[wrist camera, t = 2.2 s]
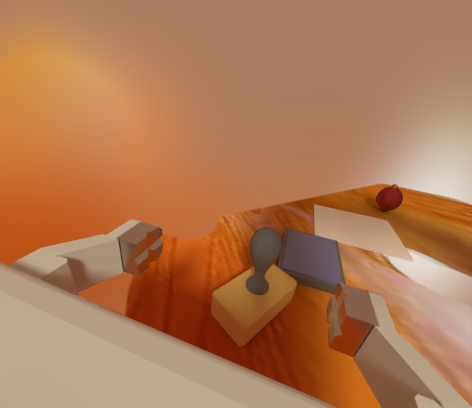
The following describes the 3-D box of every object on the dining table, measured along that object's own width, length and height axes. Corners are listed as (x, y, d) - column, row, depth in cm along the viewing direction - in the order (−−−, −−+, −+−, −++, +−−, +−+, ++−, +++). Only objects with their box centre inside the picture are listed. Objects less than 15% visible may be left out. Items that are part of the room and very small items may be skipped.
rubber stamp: (261, 275, 33) (275, 207, 28) (292, 301, 29) (316, 228, 24) (209, 312, 27) (215, 232, 21) (241, 350, 23) (258, 265, 18)
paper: (387, 221, 54) (387, 220, 54) (413, 261, 40) (413, 260, 40) (313, 205, 58) (314, 204, 58) (314, 236, 44) (314, 235, 44)
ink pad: (335, 245, 42) (337, 239, 41) (343, 297, 31) (347, 289, 30) (284, 232, 44) (286, 226, 44) (275, 275, 33) (277, 268, 32)
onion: (374, 204, 64) (386, 178, 60) (397, 211, 60) (410, 185, 57) (369, 209, 60) (381, 182, 56) (393, 218, 56) (407, 190, 53)
